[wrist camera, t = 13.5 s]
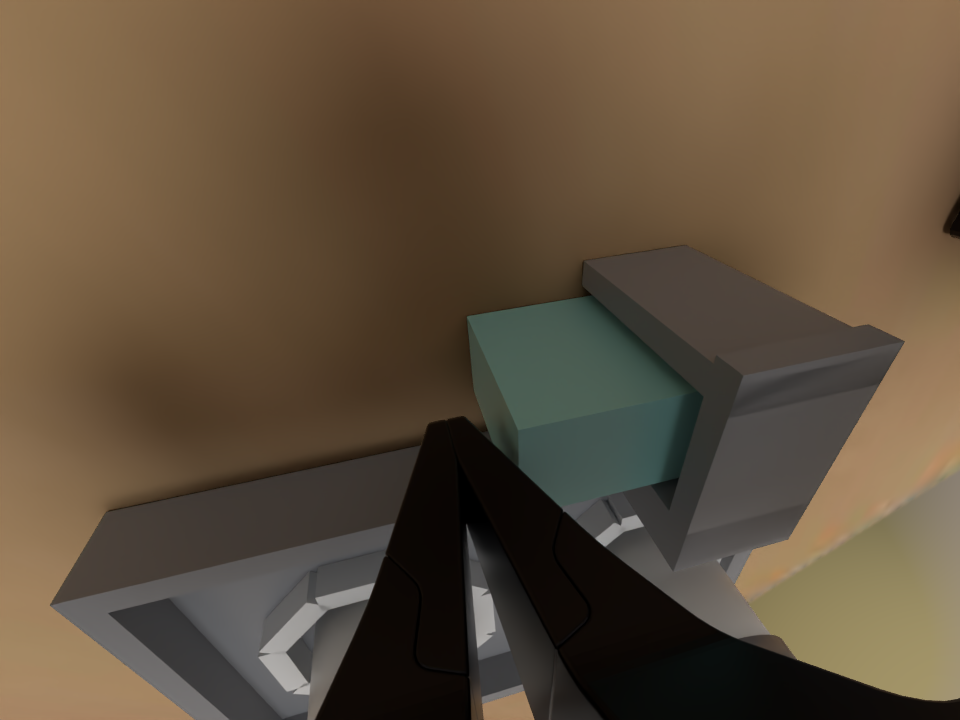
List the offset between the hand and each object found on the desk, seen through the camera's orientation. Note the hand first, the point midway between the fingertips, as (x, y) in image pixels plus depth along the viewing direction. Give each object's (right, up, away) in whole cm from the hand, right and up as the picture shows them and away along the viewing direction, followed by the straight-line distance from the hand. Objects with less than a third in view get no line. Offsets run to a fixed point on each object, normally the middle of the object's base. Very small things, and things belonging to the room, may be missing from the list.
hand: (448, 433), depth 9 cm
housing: (+1, -4, +7) cm, 8 cm away
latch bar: (+3, +2, +3) cm, 5 cm away
